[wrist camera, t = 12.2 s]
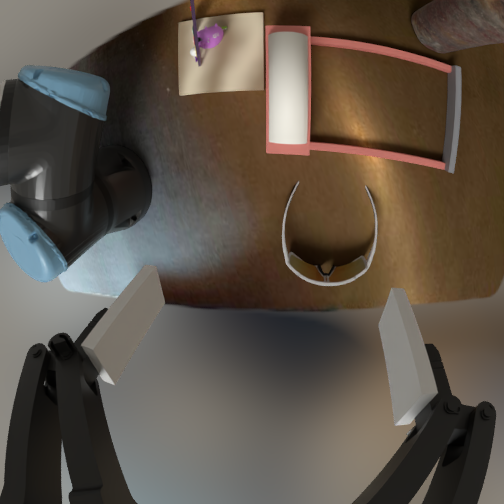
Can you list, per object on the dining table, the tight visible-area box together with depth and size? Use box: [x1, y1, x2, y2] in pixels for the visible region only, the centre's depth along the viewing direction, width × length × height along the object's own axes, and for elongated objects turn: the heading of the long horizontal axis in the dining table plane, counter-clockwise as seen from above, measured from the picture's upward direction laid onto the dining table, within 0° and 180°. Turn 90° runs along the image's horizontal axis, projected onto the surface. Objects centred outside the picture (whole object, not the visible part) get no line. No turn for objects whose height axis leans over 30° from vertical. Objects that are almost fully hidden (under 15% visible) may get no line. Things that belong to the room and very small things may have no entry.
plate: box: [178, 12, 265, 96], centre depth 29 cm, size 12×12×1 cm
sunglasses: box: [282, 181, 377, 286], centre depth 39 cm, size 14×15×5 cm
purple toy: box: [190, 0, 227, 67], centre depth 26 cm, size 7×5×9 cm
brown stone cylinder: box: [411, 0, 504, 53], centre depth 13 cm, size 8×7×20 cm
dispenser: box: [266, 26, 461, 173], centre depth 26 cm, size 26×16×8 cm, turn 91°
